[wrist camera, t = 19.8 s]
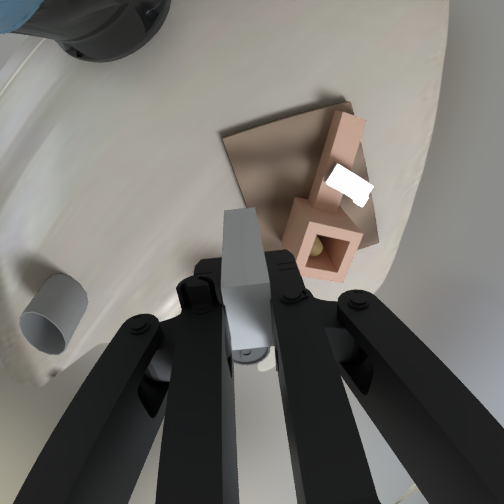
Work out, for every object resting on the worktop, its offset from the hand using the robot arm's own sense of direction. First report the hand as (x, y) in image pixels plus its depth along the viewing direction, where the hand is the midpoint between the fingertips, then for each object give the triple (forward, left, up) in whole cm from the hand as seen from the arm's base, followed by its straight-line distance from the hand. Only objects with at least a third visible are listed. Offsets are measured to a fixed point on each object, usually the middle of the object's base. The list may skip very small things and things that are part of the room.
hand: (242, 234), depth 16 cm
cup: (+11, -34, -25) cm, 43 cm away
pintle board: (+8, +7, -24) cm, 27 cm away
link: (+7, +9, -23) cm, 26 cm away
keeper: (+6, +11, -24) cm, 27 cm away
